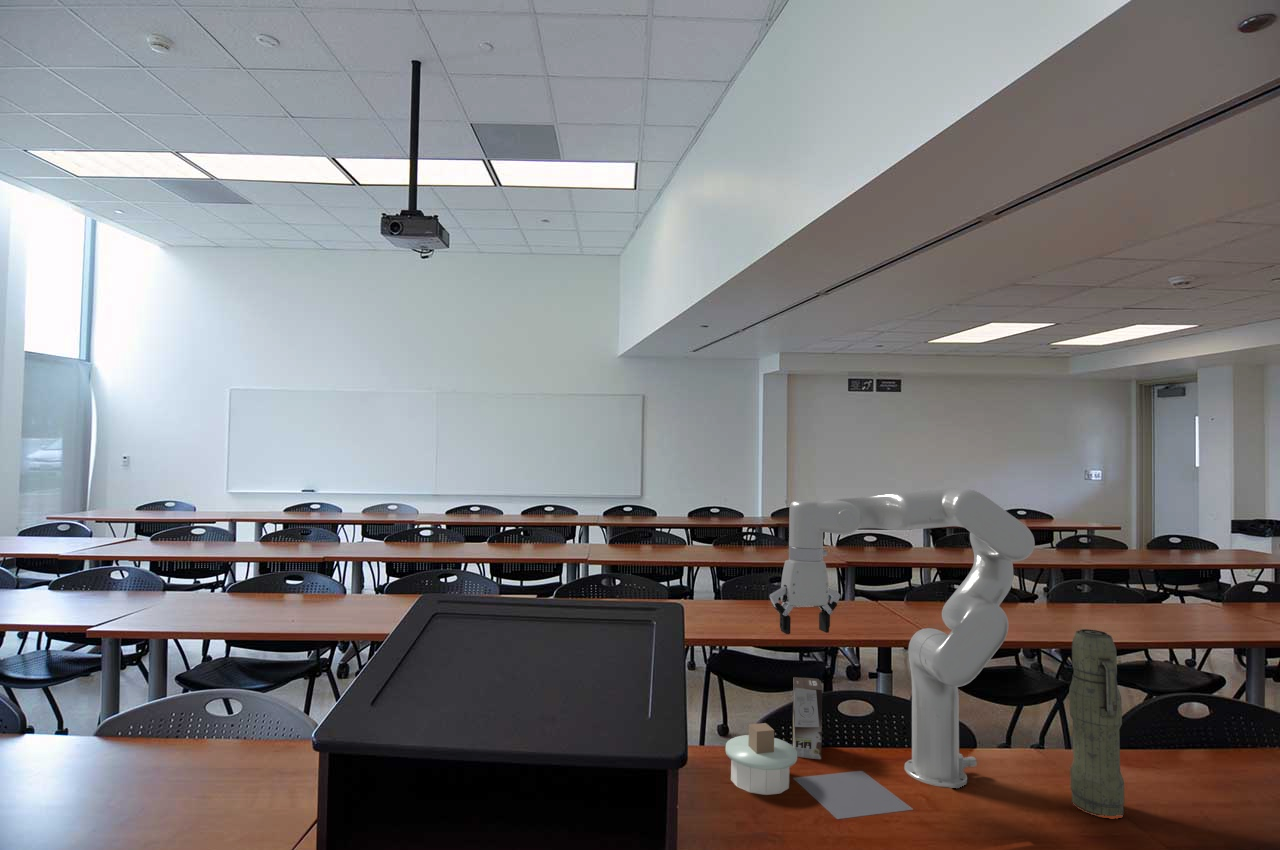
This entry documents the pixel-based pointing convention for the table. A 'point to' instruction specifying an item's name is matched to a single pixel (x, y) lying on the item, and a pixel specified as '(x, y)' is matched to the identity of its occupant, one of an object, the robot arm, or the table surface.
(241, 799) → the table surface
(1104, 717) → the thermos
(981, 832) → the table surface
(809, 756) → the coffee box
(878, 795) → the mat
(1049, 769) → the table surface
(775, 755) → the lid
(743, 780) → the bowl
